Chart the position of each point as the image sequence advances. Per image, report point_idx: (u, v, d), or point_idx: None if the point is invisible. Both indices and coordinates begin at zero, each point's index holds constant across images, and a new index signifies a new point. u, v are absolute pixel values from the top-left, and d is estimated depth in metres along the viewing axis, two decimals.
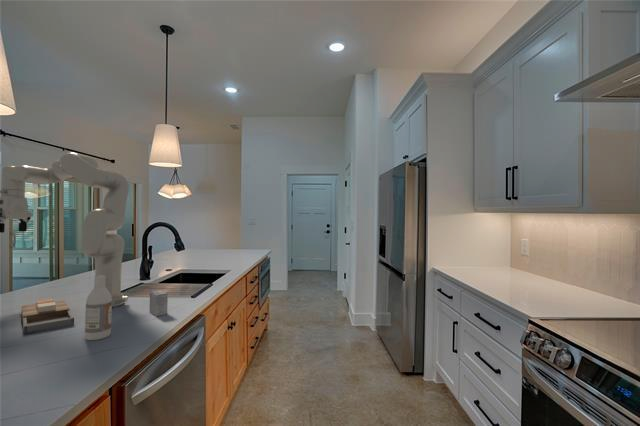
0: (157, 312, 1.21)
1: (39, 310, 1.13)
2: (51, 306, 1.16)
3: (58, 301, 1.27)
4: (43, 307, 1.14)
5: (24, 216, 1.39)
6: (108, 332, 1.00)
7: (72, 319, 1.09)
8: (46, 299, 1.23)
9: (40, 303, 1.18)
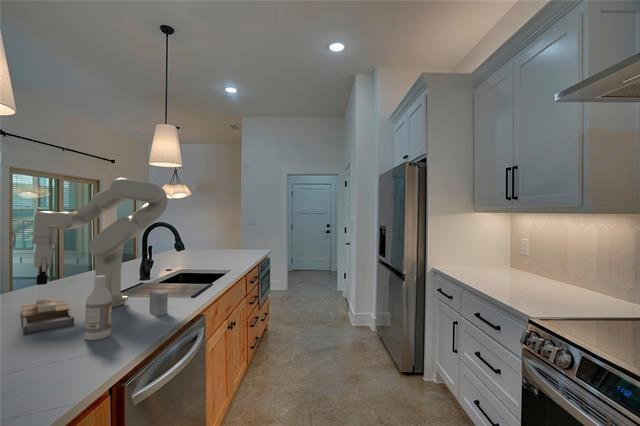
0: (157, 312, 1.21)
1: (39, 310, 1.13)
2: (51, 306, 1.16)
3: (58, 301, 1.27)
4: (43, 307, 1.14)
5: (34, 266, 1.23)
6: (108, 332, 1.00)
7: (72, 319, 1.09)
8: (46, 299, 1.23)
9: (40, 303, 1.18)
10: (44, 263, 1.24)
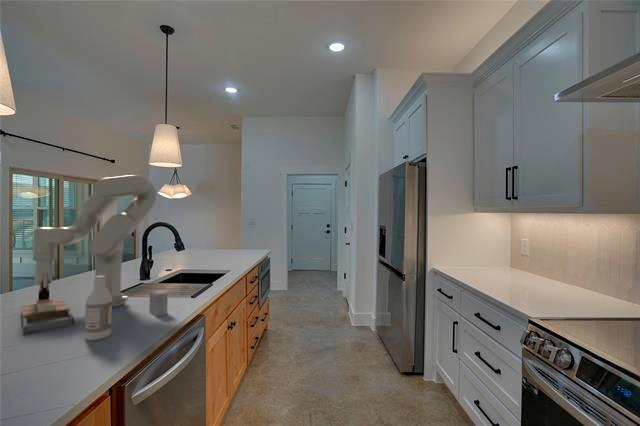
0: (157, 312, 1.21)
1: (39, 310, 1.13)
2: (51, 306, 1.16)
3: (58, 301, 1.27)
4: (43, 307, 1.14)
5: (35, 282, 1.23)
6: (108, 332, 1.00)
7: (72, 319, 1.09)
8: (46, 299, 1.23)
9: (40, 303, 1.18)
10: (45, 280, 1.24)
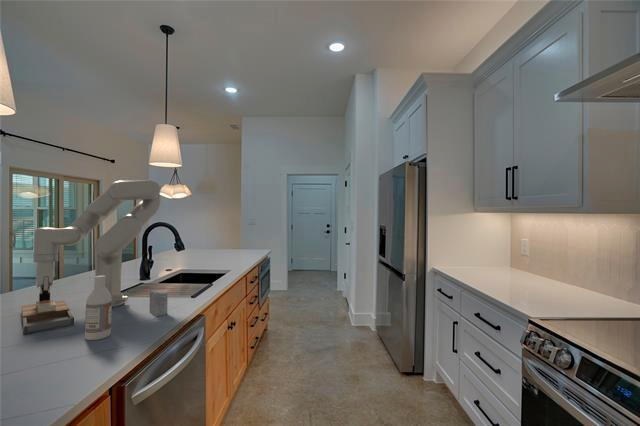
0: (157, 312, 1.21)
1: (39, 310, 1.13)
2: (51, 306, 1.16)
3: (58, 301, 1.27)
4: (43, 307, 1.14)
5: (36, 284, 1.19)
6: (108, 332, 1.00)
7: (72, 319, 1.09)
8: (46, 300, 1.22)
9: None
10: (45, 282, 1.20)
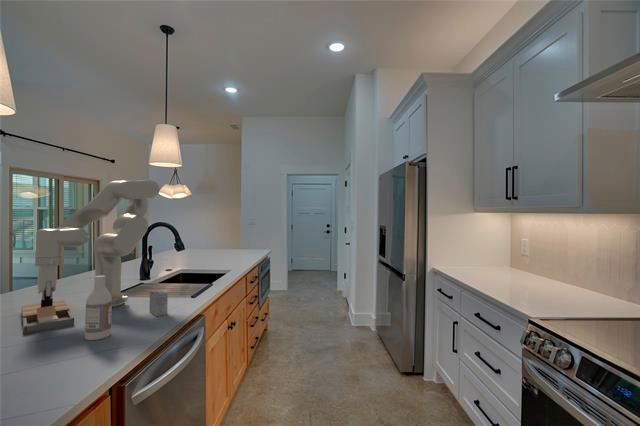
0: (157, 312, 1.21)
1: None
2: None
3: (58, 301, 1.27)
4: None
5: (37, 290, 1.11)
6: (108, 332, 1.00)
7: (72, 319, 1.09)
8: (48, 307, 1.13)
9: None
10: (48, 287, 1.11)
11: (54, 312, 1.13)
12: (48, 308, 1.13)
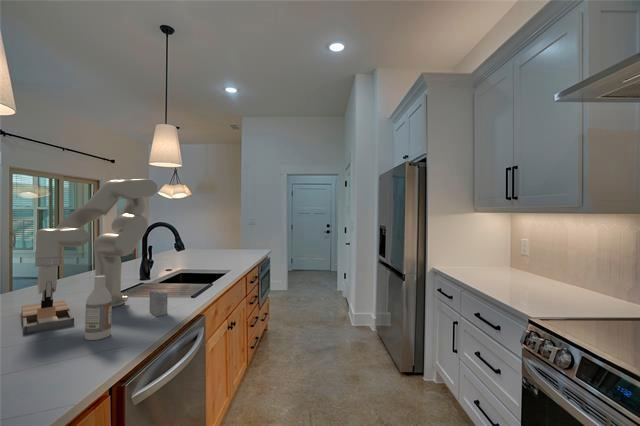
0: (157, 312, 1.21)
1: None
2: None
3: (58, 301, 1.27)
4: None
5: (37, 291, 1.10)
6: (108, 332, 1.00)
7: (72, 319, 1.09)
8: (48, 308, 1.12)
9: None
10: (48, 288, 1.10)
11: (54, 313, 1.12)
12: (48, 309, 1.12)
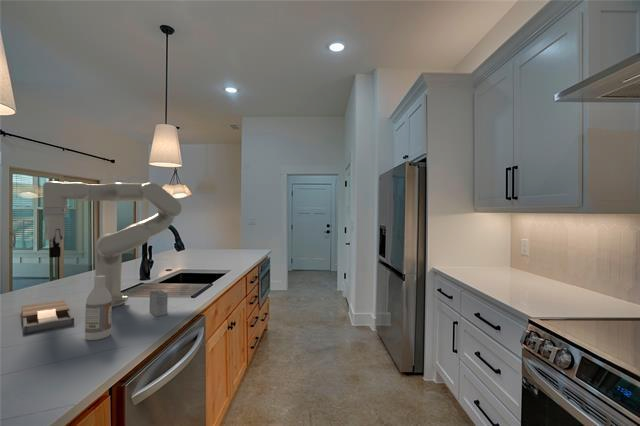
0: (157, 312, 1.21)
1: None
2: None
3: (58, 301, 1.27)
4: None
5: (47, 237, 1.19)
6: (108, 332, 1.00)
7: (72, 319, 1.09)
8: (48, 310, 1.13)
9: None
10: (57, 235, 1.20)
11: (54, 313, 1.12)
12: (48, 311, 1.13)
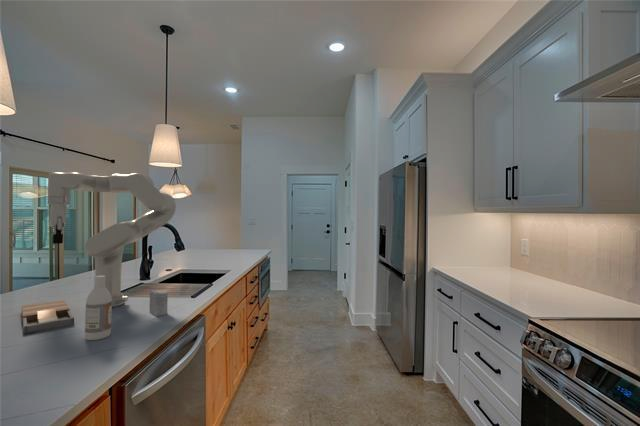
0: (157, 312, 1.21)
1: None
2: None
3: (58, 301, 1.27)
4: None
5: (50, 224, 1.28)
6: (108, 332, 1.00)
7: (72, 319, 1.09)
8: (48, 310, 1.13)
9: None
10: (59, 222, 1.28)
11: (54, 313, 1.12)
12: (48, 311, 1.13)
